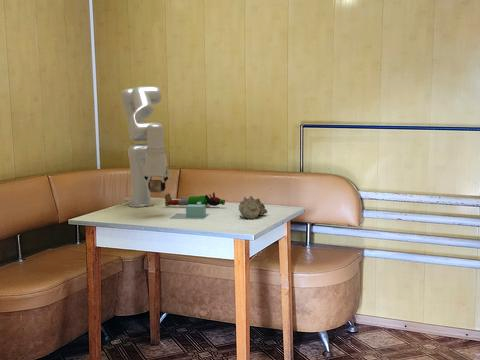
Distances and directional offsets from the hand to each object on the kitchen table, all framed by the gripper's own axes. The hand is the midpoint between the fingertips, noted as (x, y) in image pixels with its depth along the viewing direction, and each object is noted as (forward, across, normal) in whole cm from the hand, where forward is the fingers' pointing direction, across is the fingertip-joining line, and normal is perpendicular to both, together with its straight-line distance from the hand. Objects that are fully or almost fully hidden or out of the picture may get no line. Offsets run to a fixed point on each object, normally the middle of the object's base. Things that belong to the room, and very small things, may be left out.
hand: (156, 190), depth 276 cm
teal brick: (+12, +19, -1) cm, 22 cm away
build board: (+12, +16, -1) cm, 20 cm away
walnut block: (+1, 0, 0) cm, 1 cm away
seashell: (+12, +44, +4) cm, 46 cm away
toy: (+14, +12, +24) cm, 30 cm away
